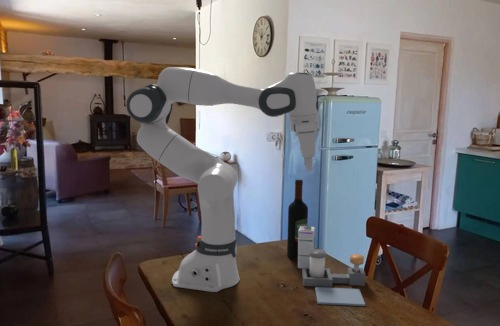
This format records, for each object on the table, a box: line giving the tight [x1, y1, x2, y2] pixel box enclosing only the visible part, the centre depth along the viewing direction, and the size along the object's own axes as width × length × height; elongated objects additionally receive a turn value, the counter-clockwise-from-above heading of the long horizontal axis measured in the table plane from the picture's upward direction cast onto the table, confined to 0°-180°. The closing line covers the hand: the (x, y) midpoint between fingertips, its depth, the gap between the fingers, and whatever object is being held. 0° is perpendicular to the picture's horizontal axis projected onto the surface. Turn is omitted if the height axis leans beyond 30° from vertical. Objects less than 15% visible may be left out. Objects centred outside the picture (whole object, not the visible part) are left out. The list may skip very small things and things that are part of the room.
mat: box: [314, 286, 366, 307], centre depth 129 cm, size 14×10×1 cm
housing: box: [301, 267, 366, 288], centre depth 140 cm, size 20×9×4 cm, turn 85°
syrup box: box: [297, 225, 316, 270], centre depth 152 cm, size 6×6×14 cm
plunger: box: [349, 253, 365, 272], centre depth 139 cm, size 4×4×6 cm
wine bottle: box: [286, 179, 309, 260], centre depth 161 cm, size 8×8×30 cm
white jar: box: [308, 248, 327, 278], centre depth 140 cm, size 5×5×10 cm
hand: (308, 167), depth 133 cm, fingers open, 8 cm apart
